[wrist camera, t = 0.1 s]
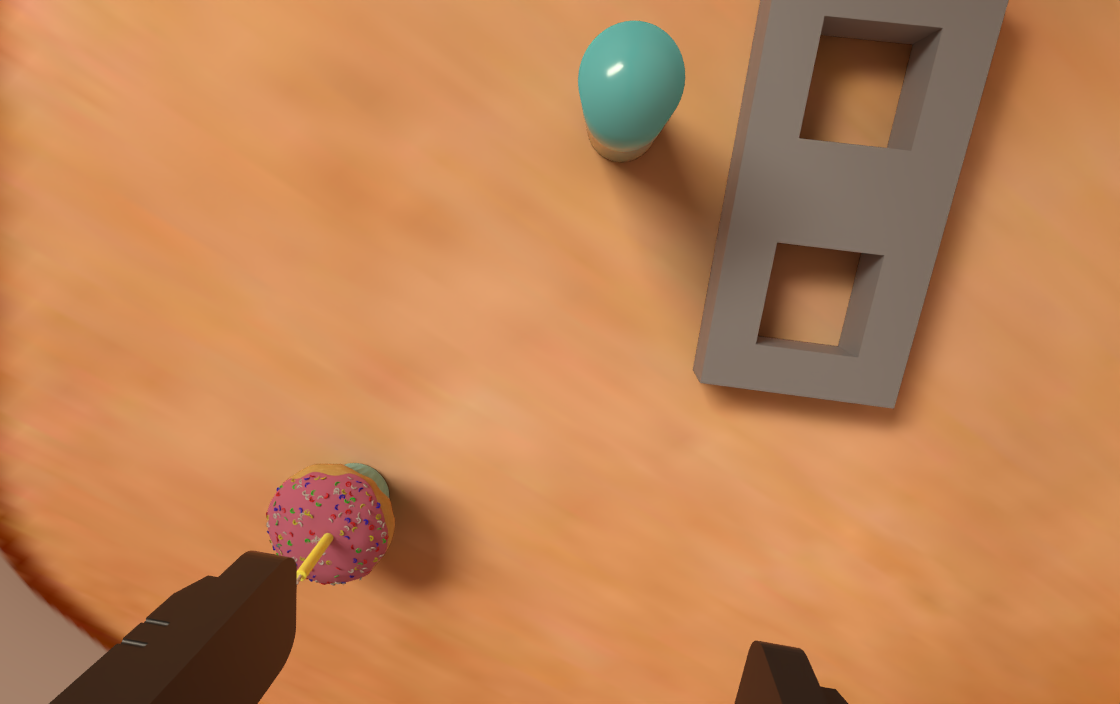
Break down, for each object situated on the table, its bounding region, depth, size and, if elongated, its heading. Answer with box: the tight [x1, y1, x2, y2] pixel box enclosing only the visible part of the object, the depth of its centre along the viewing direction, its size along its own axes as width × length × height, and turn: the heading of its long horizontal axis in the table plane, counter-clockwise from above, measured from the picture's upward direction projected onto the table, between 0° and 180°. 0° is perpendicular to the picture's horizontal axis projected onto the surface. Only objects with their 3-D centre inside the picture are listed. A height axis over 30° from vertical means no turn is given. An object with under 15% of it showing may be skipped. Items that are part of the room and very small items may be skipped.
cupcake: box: [266, 463, 395, 586], centre depth 37 cm, size 9×8×12 cm
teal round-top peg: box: [578, 21, 685, 162], centre depth 29 cm, size 4×4×12 cm
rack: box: [693, 0, 1008, 409], centre depth 33 cm, size 24×12×3 cm, turn 173°
